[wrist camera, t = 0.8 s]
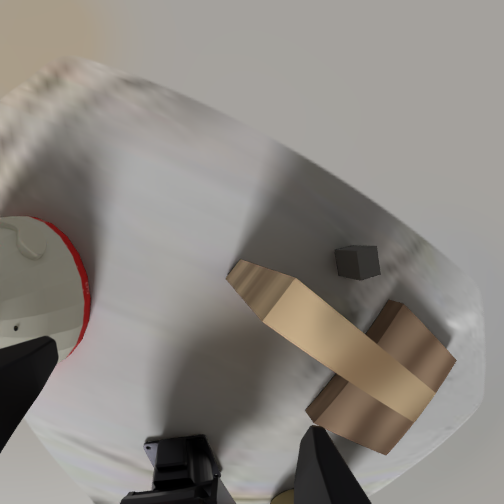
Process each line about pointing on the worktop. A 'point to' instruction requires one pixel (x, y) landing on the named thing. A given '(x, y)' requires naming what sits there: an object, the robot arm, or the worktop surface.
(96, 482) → the worktop surface
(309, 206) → the worktop surface
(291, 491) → the squeeze bottle
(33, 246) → the kitchen timer
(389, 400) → the light wooden board
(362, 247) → the stop block
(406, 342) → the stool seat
